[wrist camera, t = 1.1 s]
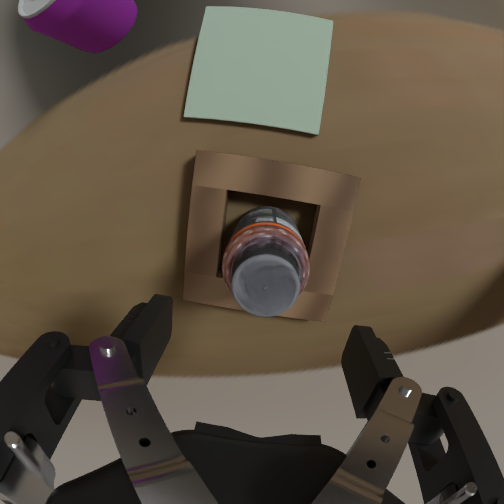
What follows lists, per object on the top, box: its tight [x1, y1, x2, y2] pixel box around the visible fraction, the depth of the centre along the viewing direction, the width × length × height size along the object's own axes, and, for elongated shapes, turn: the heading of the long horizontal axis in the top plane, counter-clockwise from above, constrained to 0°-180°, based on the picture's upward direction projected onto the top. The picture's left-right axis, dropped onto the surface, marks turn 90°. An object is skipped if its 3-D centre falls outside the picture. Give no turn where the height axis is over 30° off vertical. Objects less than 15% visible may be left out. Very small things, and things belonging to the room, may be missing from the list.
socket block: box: [183, 150, 360, 322], centre depth 26 cm, size 14×14×2 cm
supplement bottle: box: [222, 206, 310, 317], centre depth 22 cm, size 6×6×11 cm
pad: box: [184, 6, 333, 135], centre depth 22 cm, size 12×12×1 cm
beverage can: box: [18, 0, 137, 53], centre depth 15 cm, size 8×8×12 cm
